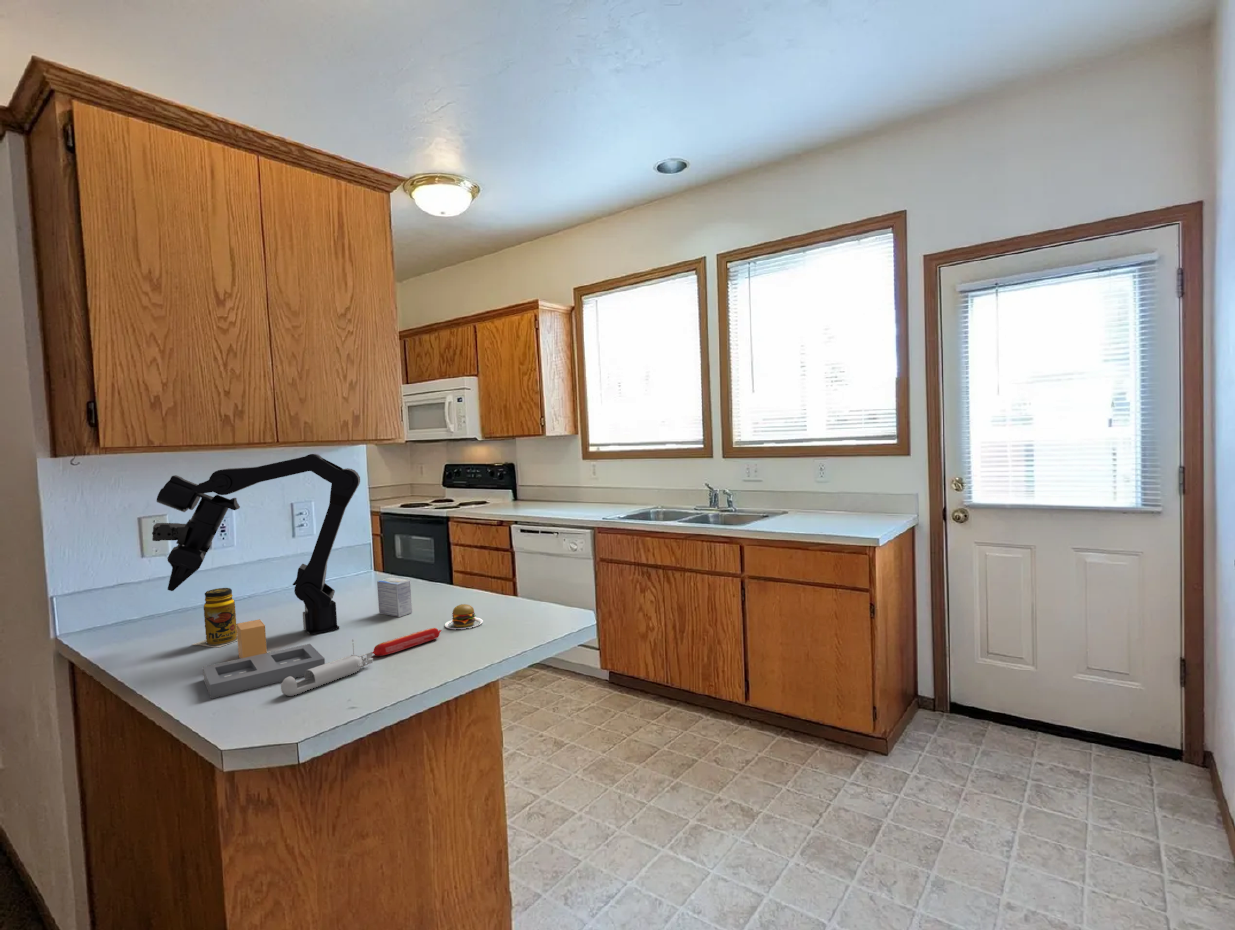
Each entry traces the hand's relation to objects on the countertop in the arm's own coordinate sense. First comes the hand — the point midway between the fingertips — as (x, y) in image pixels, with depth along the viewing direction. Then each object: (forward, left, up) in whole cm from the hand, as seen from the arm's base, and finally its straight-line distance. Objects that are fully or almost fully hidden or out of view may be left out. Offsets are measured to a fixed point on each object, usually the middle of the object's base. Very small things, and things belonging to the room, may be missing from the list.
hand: (173, 584), depth 143 cm
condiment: (-8, +2, -14) cm, 17 cm away
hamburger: (-54, +31, -15) cm, 64 cm away
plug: (-12, +19, -14) cm, 26 cm away
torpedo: (-21, +46, -15) cm, 53 cm away
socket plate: (-12, +34, -14) cm, 39 cm away
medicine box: (-46, +9, -14) cm, 49 cm away
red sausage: (-38, +38, -15) cm, 56 cm away
